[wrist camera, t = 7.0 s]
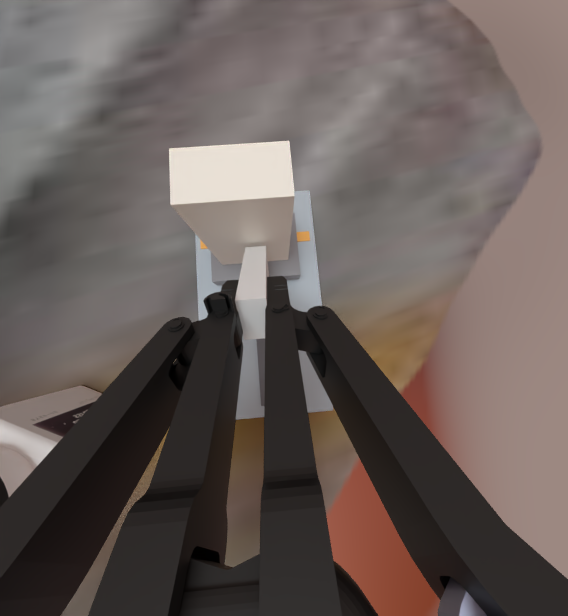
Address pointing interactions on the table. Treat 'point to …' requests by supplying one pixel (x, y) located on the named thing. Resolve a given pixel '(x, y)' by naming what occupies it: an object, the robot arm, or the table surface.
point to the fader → (238, 204)
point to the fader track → (301, 298)
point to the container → (36, 431)
